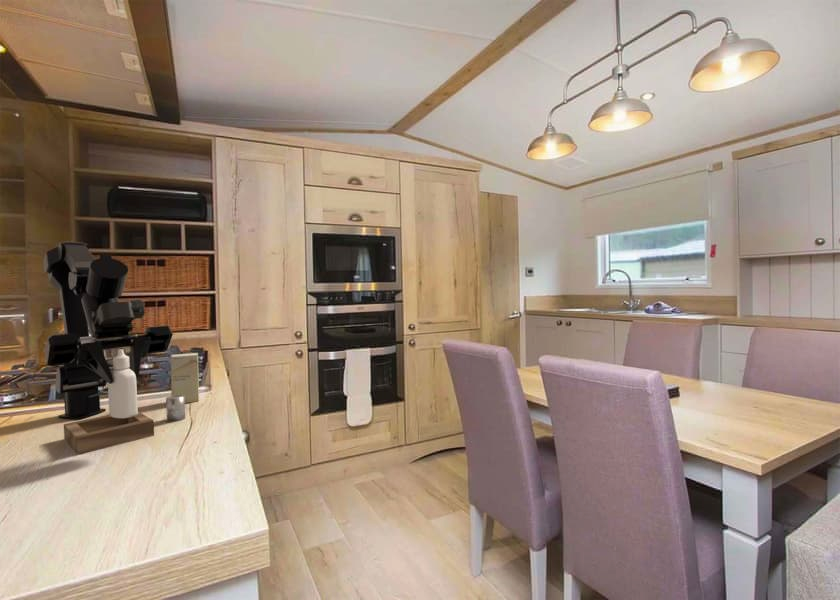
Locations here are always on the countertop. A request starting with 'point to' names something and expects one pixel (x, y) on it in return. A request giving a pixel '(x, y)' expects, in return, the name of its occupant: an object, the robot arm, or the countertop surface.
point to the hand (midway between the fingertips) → (124, 380)
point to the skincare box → (185, 376)
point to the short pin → (175, 408)
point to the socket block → (106, 432)
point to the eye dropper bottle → (122, 388)
